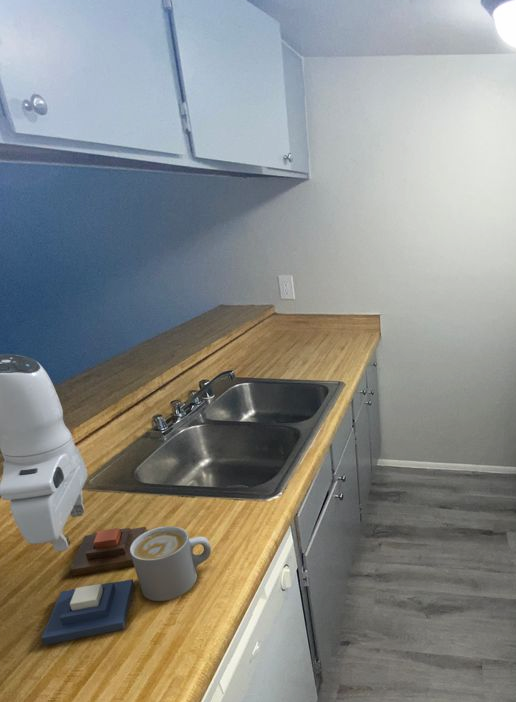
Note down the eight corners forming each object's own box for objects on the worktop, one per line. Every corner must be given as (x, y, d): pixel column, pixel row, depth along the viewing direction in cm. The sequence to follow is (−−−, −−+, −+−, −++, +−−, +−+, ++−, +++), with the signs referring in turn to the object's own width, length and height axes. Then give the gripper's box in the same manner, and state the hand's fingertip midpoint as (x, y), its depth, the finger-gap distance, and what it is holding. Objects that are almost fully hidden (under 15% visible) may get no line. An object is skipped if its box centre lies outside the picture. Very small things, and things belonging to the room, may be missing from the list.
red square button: (95, 549, 96) (93, 542, 96) (100, 537, 100) (97, 530, 99) (117, 546, 98) (115, 539, 97) (121, 534, 101) (119, 527, 100)
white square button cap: (72, 611, 82) (69, 604, 81) (78, 595, 86) (75, 587, 85) (98, 606, 83) (95, 599, 83) (103, 590, 87) (101, 583, 86)
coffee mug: (140, 606, 88) (127, 565, 83) (143, 571, 96) (132, 532, 91) (216, 588, 92) (208, 548, 88) (213, 556, 100) (206, 518, 96)
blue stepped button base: (44, 645, 79) (37, 630, 78) (63, 598, 89) (58, 584, 87) (124, 629, 83) (119, 615, 81) (134, 585, 92) (130, 571, 91)
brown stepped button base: (72, 576, 94) (67, 562, 92) (86, 541, 103) (82, 529, 101) (139, 565, 97) (135, 551, 96) (147, 532, 106) (144, 520, 105)
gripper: (41, 433, 81) (67, 499, 87) (-8, 497, 64) (28, 574, 70) (83, 428, 83) (105, 494, 89) (47, 490, 66) (77, 566, 72)
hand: (71, 530), depth 79 cm, fingers open, 8 cm apart
